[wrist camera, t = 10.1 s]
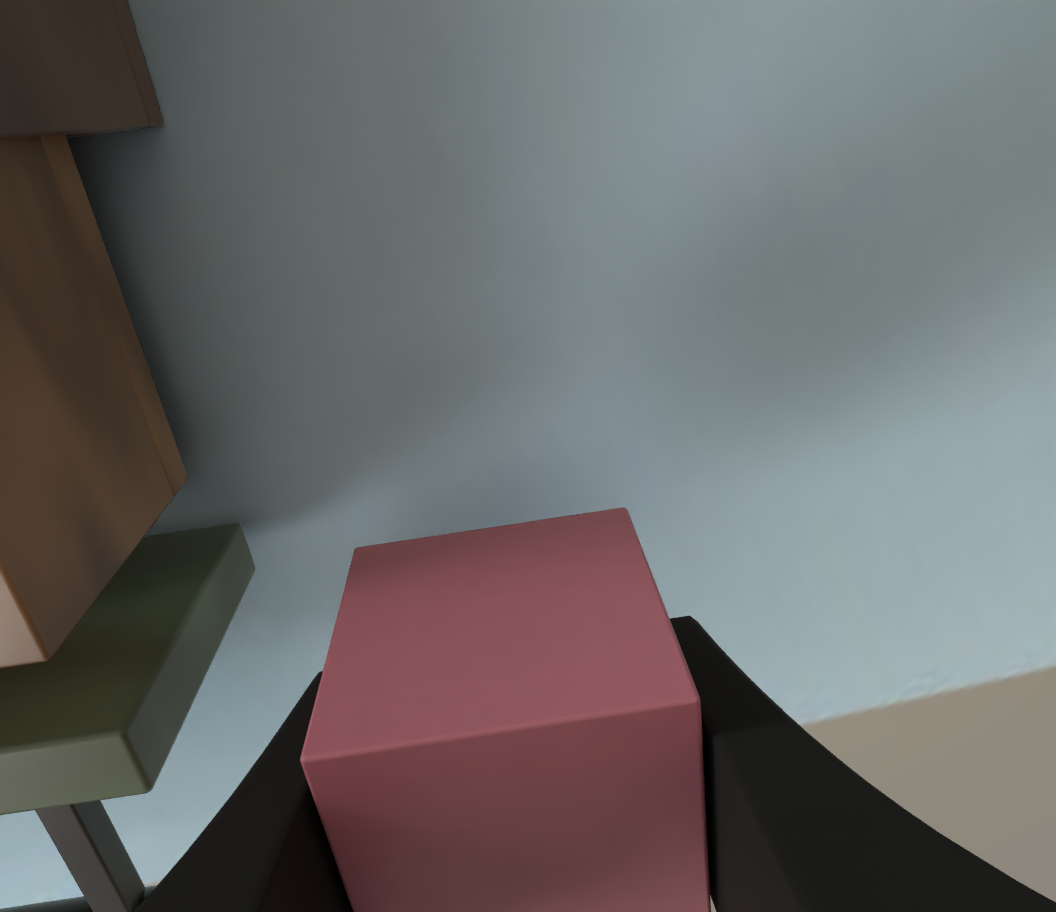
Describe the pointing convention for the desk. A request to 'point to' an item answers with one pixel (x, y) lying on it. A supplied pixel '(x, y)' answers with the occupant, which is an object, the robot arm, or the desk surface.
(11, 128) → the cabinet
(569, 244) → the desk surface
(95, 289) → the drawer
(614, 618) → the block
